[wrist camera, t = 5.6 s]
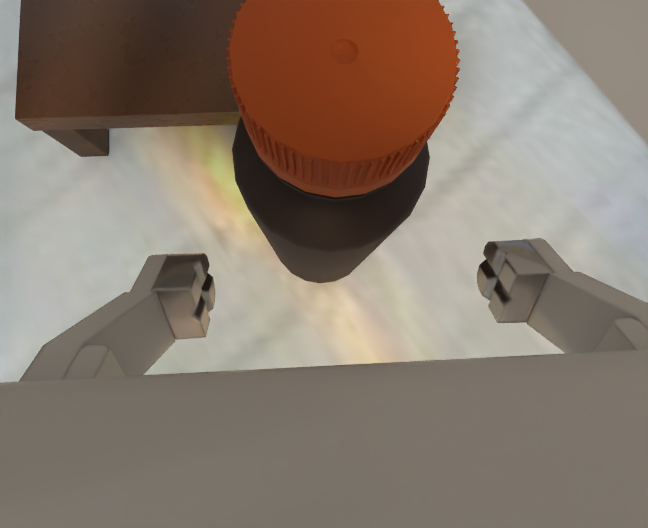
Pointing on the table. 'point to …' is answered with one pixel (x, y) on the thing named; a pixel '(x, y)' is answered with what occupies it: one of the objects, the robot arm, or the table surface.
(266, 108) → the vinegar
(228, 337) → the table surface
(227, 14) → the stand
